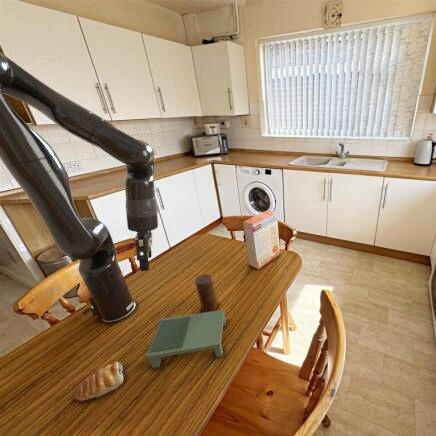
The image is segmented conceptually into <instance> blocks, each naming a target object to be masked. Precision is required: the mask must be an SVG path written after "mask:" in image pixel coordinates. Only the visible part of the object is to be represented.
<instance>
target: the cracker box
mask: <svg viewBox="0 0 436 436" xmlns="http://www.w3.org/2000/svg"><path fill="white" fill-rule="evenodd" d="M278 223H279V222H278V213H277V212H274V211H271V210H268V209H267V210H265V211H263V212H261V213H259V214H257V215H255V216H253V217H249V218H248V219H246V220H244V221H242V225H243V231H244V237H245V244H246V252H247V258H248V265H249V266H251V267H252V268H254V269H256V270H261V268H263V267H264V266H266V265H268V264H269V263H270V262H271V261H273V260H274V259H276V258H277V257H278V256H280V255H281V249H280V248H281V247H280V236H279V224H278Z"/></svg>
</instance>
